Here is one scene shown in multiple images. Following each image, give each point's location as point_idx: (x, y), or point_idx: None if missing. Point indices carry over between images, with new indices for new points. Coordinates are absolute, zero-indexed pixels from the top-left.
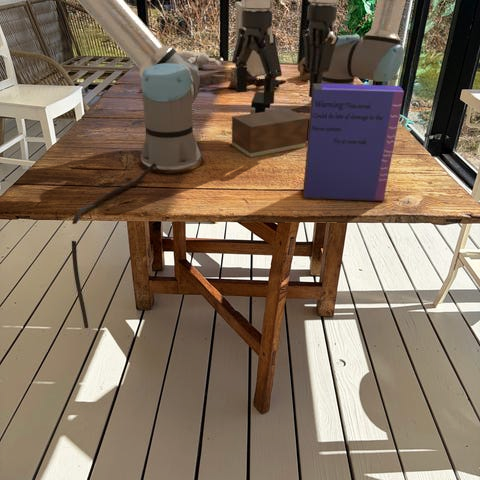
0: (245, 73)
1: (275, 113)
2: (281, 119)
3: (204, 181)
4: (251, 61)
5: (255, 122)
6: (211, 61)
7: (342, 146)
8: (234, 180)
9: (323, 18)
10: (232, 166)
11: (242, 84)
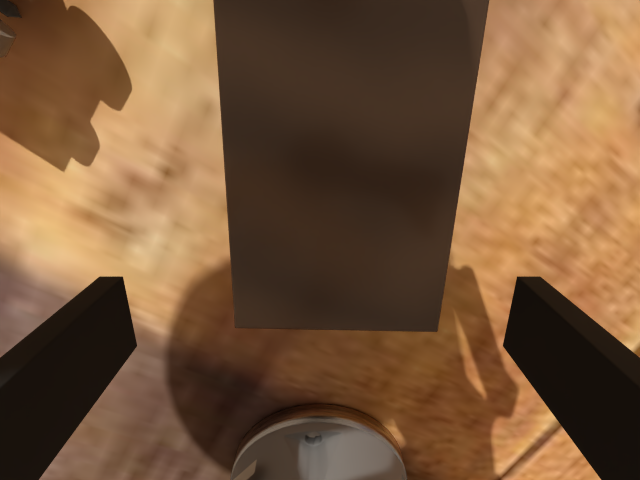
0: (11, 402)
1: (288, 69)
2: (420, 114)
3: (480, 448)
4: None
5: (385, 278)
6: None
7: None
8: (527, 389)
9: None
10: (438, 350)
11: (94, 351)
